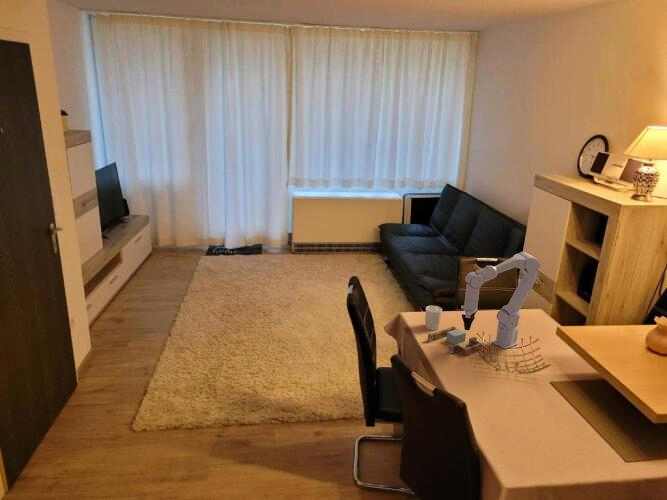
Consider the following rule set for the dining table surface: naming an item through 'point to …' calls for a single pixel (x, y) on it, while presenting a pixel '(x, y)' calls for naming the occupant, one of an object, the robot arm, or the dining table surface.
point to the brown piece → (455, 347)
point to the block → (456, 336)
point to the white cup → (433, 317)
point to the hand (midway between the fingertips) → (468, 326)
